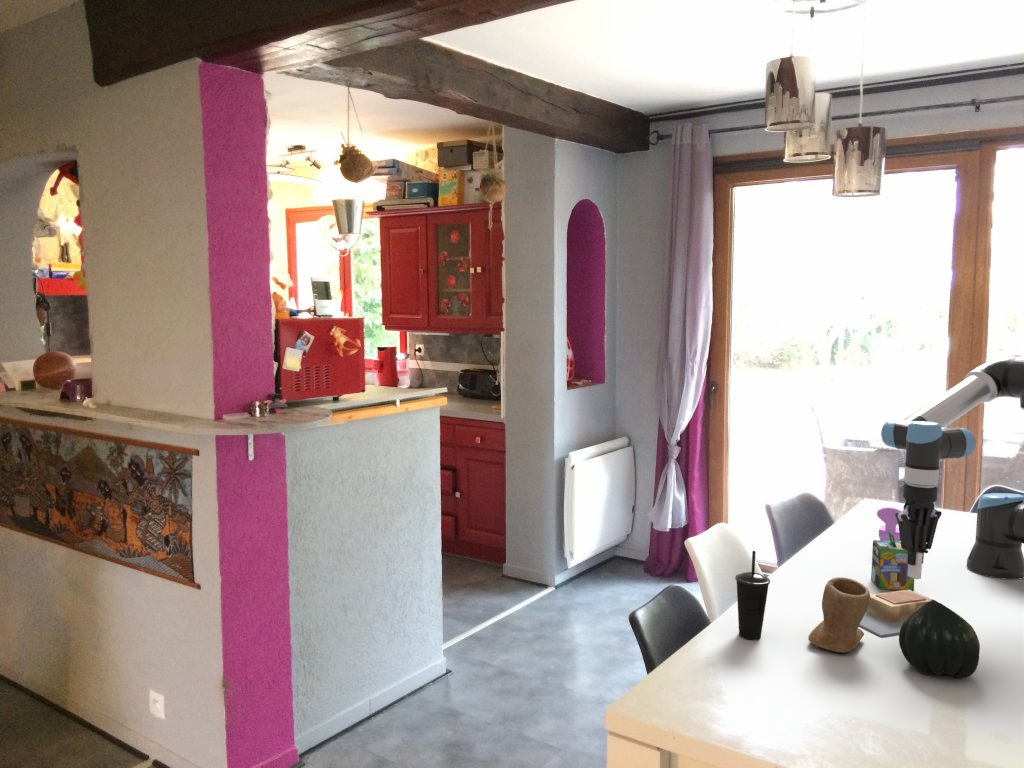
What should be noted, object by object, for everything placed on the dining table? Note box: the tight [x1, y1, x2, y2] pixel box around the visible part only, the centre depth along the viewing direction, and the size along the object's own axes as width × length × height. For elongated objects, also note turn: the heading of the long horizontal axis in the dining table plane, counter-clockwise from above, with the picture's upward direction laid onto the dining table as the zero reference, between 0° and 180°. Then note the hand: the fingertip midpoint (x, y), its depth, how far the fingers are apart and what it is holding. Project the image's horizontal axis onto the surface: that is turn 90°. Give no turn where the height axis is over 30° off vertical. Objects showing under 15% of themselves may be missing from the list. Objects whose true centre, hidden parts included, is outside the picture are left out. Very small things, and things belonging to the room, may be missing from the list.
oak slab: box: [867, 590, 934, 623], centre depth 197 cm, size 4×8×14 cm
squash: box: [898, 599, 981, 679], centre depth 167 cm, size 14×15×15 cm
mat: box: [858, 611, 904, 638], centre depth 196 cm, size 20×18×1 cm
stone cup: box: [808, 576, 871, 653], centre depth 179 cm, size 15×12×15 cm
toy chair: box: [876, 506, 903, 542], centre depth 250 cm, size 8×9×15 cm
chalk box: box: [870, 531, 915, 592], centre depth 219 cm, size 9×9×15 cm
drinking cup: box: [734, 550, 771, 641], centre depth 182 cm, size 8×8×20 cm
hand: (914, 577), depth 198 cm, fingers closed
